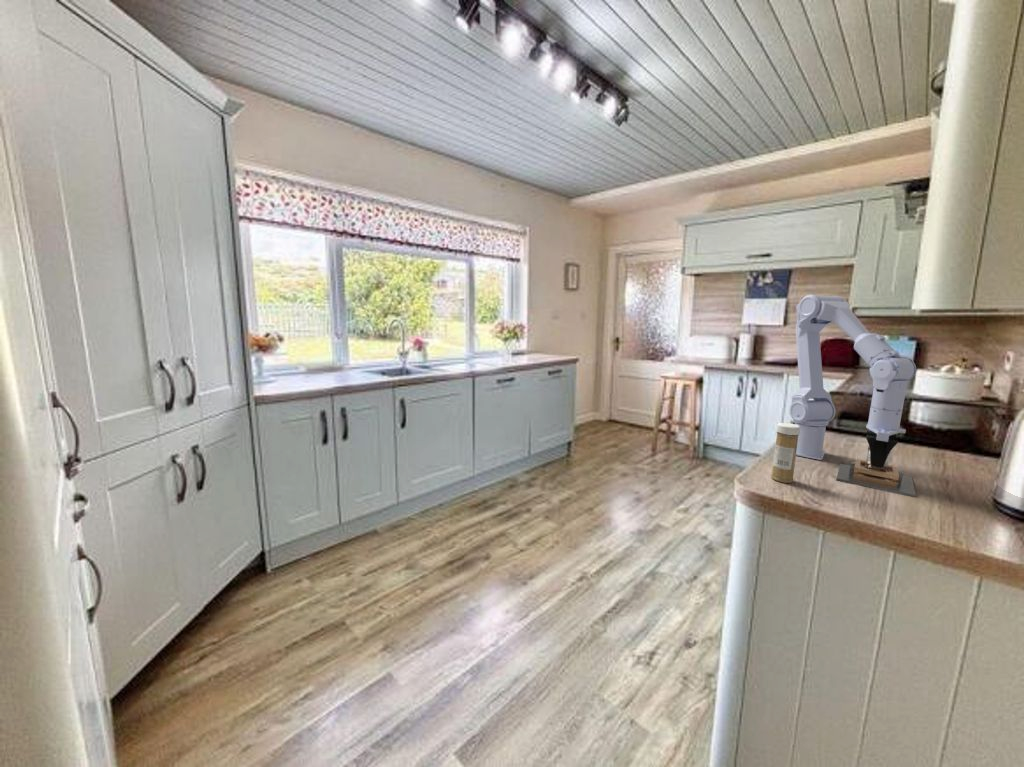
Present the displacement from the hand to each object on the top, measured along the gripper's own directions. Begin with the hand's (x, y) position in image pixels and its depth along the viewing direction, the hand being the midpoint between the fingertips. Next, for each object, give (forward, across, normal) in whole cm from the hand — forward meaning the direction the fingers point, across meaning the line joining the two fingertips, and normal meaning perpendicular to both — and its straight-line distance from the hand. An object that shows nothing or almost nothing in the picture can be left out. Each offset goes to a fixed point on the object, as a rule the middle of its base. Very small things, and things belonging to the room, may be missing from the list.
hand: (876, 464), depth 105 cm
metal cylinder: (+2, 0, 0) cm, 2 cm away
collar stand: (+4, 0, 0) cm, 4 cm away
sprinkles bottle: (+4, -16, +17) cm, 24 cm away
